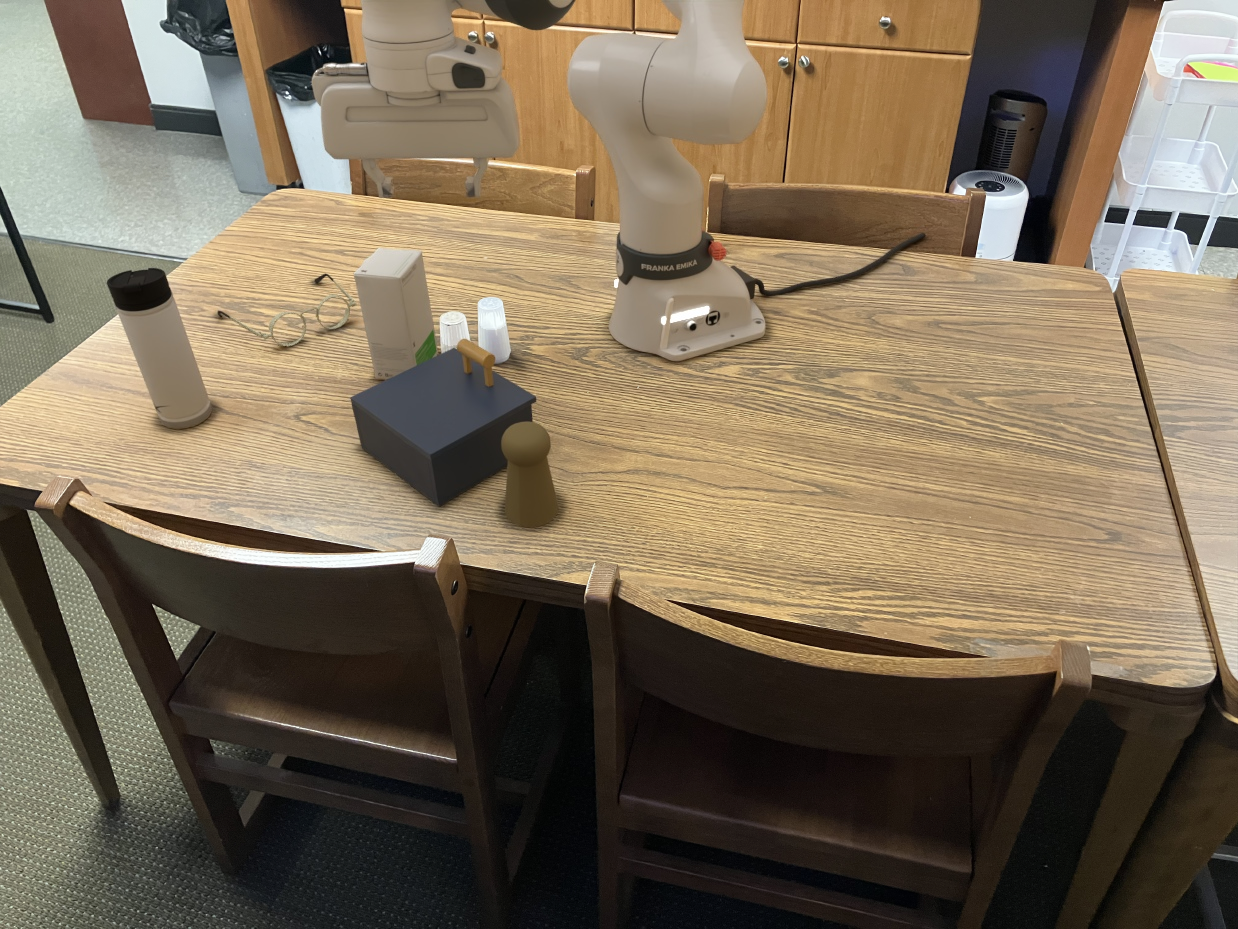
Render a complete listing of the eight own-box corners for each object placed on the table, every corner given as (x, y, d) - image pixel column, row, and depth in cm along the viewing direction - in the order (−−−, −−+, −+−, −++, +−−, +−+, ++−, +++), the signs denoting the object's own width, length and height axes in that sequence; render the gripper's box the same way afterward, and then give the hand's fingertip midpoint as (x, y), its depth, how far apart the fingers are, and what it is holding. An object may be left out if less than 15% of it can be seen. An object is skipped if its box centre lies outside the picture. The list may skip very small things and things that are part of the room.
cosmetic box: (418, 385, 123) (400, 279, 113) (371, 380, 124) (349, 274, 114) (440, 352, 129) (424, 248, 120) (395, 347, 130) (376, 244, 121)
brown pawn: (530, 484, 107) (523, 406, 100) (569, 506, 104) (565, 427, 97) (493, 511, 104) (483, 433, 97) (532, 535, 101) (526, 455, 94)
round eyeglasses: (259, 358, 128) (250, 327, 125) (214, 317, 137) (204, 286, 134) (368, 316, 137) (362, 286, 134) (319, 280, 146) (312, 250, 143)
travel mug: (157, 435, 115) (99, 290, 102) (163, 405, 120) (108, 263, 107) (211, 426, 116) (160, 282, 103) (214, 397, 121) (166, 256, 108)
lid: (454, 352, 117) (450, 316, 114) (536, 401, 108) (534, 364, 105) (351, 402, 108) (342, 365, 105) (431, 460, 100) (424, 421, 97)
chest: (455, 399, 121) (449, 355, 116) (535, 450, 112) (531, 404, 108) (361, 448, 113) (351, 403, 108) (439, 507, 104) (431, 460, 100)
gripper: (299, 72, 90) (328, 208, 99) (511, 71, 90) (521, 206, 99) (315, 54, 95) (341, 184, 103) (516, 52, 95) (525, 183, 104)
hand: (430, 195), depth 101 cm, fingers open, 8 cm apart
